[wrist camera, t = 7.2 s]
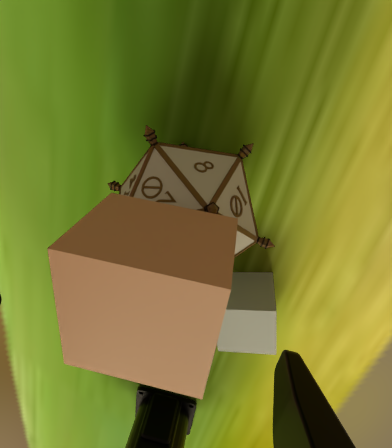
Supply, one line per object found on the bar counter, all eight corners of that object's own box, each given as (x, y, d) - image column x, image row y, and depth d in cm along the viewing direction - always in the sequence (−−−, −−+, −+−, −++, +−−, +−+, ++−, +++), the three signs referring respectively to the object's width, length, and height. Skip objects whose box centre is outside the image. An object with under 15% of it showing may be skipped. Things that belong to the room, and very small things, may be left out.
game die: (181, 173, 23) (46, 190, 16) (258, 96, 16) (88, 71, 10) (230, 277, 21) (104, 343, 15) (334, 236, 15) (196, 320, 8)
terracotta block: (215, 312, 13) (201, 399, 10) (112, 288, 14) (64, 363, 10) (238, 218, 11) (231, 289, 7) (111, 192, 11) (47, 248, 8)
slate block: (272, 311, 23) (276, 354, 20) (223, 310, 24) (218, 350, 20) (272, 271, 21) (276, 311, 18) (219, 271, 22) (212, 309, 19)
